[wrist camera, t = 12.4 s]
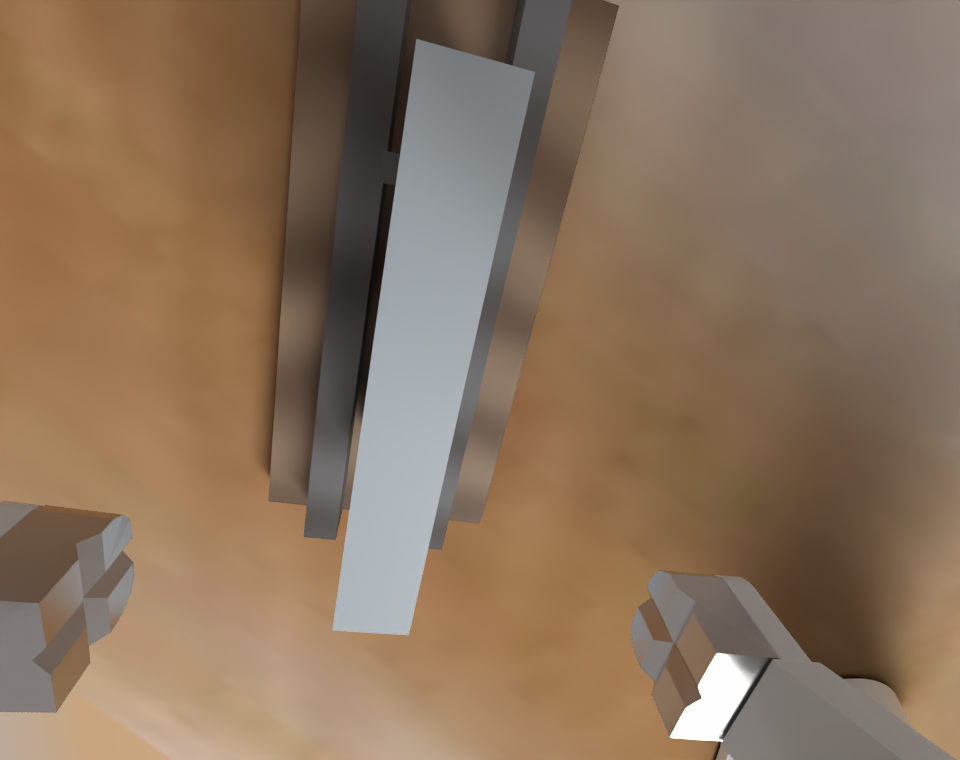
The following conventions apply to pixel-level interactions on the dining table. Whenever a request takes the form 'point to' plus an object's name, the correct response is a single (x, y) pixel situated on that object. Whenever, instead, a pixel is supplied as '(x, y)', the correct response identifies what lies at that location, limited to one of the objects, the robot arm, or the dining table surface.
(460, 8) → the track base
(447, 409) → the door panel
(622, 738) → the dining table surface
